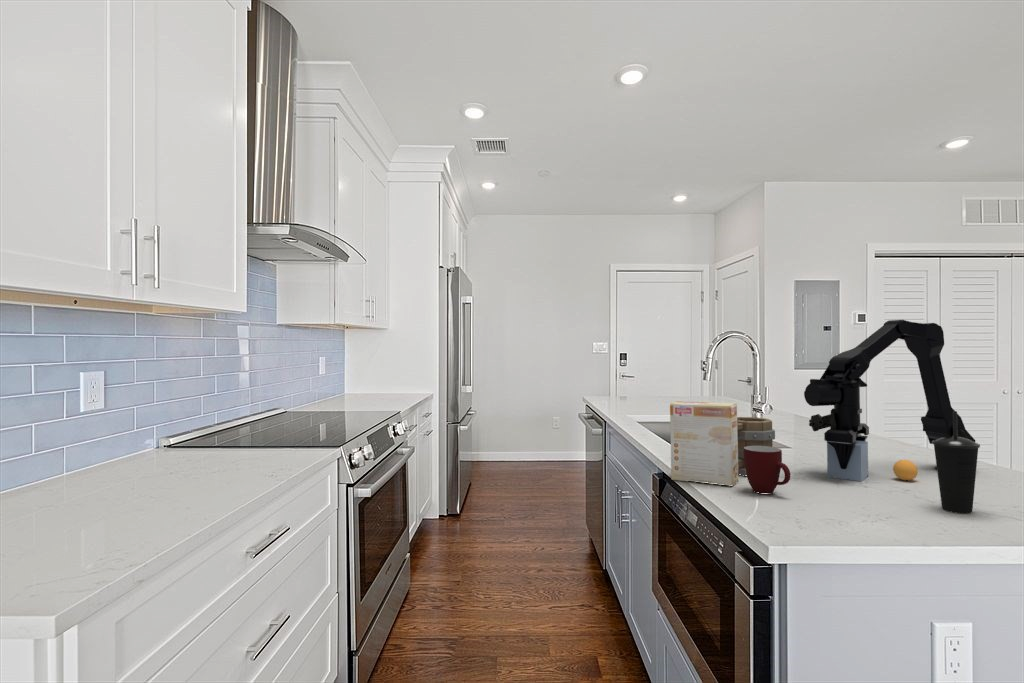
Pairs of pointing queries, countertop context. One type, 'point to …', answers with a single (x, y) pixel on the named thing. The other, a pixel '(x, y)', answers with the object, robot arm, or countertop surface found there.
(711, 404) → the coffeecake box
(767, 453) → the mug
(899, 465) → the ball
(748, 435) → the tankard
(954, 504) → the drinking cup
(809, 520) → the countertop surface
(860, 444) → the slate grey cube
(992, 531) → the countertop surface
